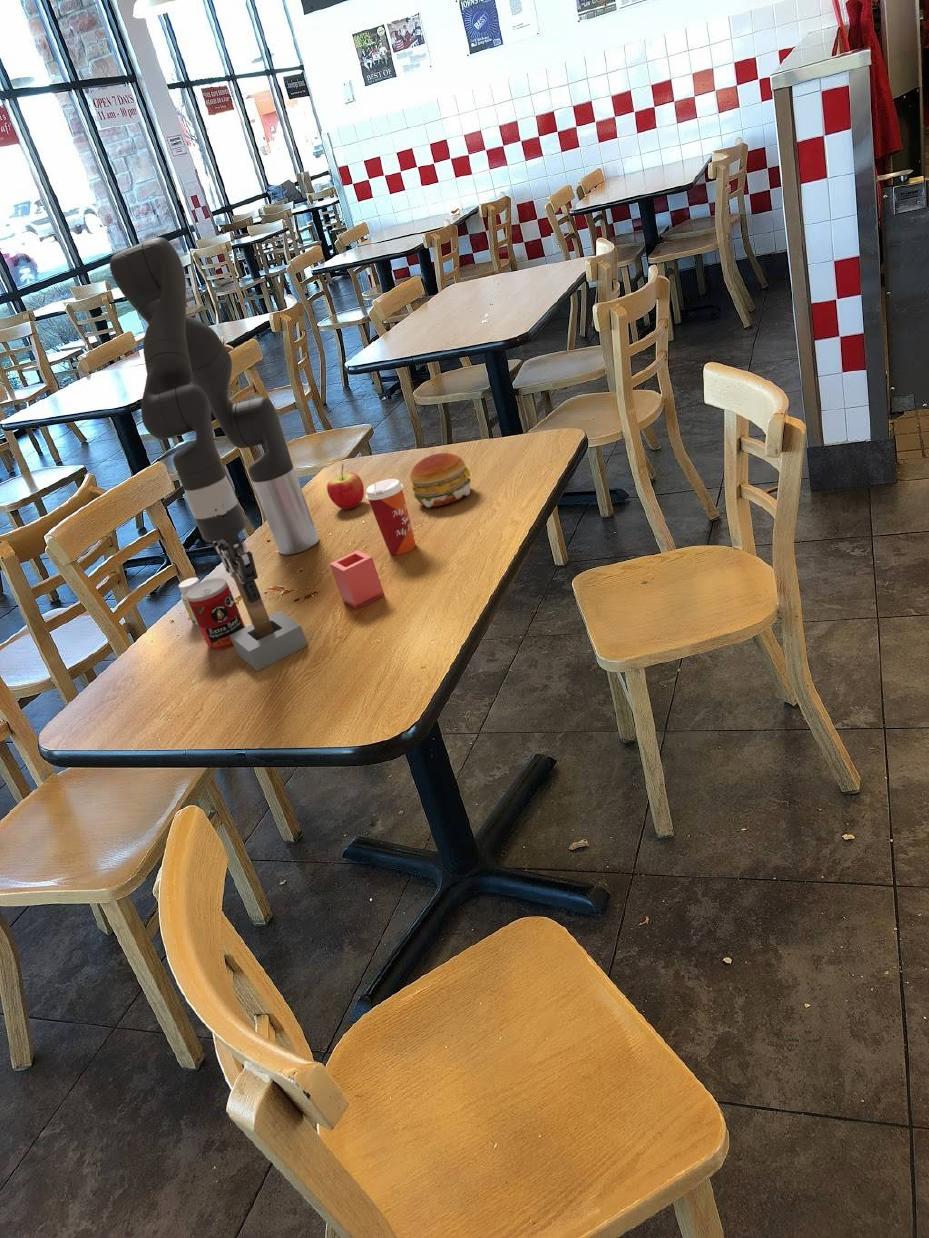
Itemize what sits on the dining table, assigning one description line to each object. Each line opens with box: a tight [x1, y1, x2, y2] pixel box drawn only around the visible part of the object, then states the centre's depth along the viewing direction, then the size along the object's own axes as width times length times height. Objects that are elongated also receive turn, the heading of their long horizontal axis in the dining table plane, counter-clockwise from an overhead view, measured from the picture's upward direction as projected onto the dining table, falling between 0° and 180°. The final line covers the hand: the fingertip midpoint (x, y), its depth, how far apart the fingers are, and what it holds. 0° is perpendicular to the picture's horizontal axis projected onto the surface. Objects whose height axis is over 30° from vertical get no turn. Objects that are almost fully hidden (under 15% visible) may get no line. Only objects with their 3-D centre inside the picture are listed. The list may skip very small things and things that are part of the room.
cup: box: [329, 549, 386, 610], centre depth 183 cm, size 6×6×8 cm
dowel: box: [230, 564, 274, 640], centre depth 172 cm, size 3×3×15 cm
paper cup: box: [365, 478, 416, 556], centre depth 199 cm, size 8×8×14 cm
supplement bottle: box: [178, 577, 201, 626], centre depth 194 cm, size 5×5×8 cm
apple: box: [326, 463, 365, 510], centre depth 231 cm, size 8×8×10 cm
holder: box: [230, 610, 309, 672], centre depth 175 cm, size 10×10×4 cm
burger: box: [409, 452, 471, 508], centre depth 219 cm, size 14×14×10 cm
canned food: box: [186, 577, 246, 650], centre depth 182 cm, size 8×8×11 cm
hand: (251, 597), depth 171 cm, fingers closed on dowel, 3 cm apart
